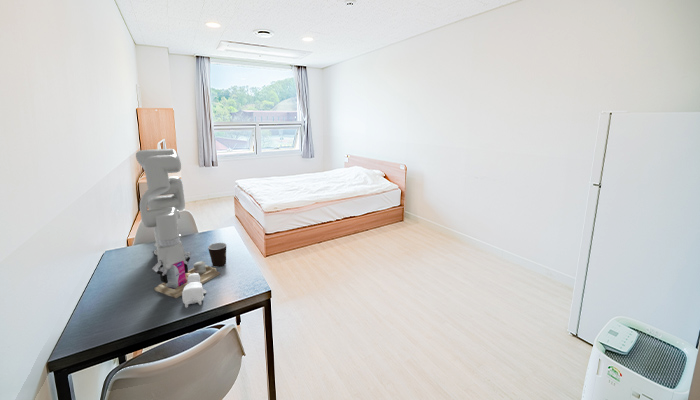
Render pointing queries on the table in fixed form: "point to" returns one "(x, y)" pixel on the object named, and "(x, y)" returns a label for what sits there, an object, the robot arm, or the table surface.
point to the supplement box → (176, 275)
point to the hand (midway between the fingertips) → (175, 277)
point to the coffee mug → (218, 254)
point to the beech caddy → (199, 267)
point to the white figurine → (193, 290)
